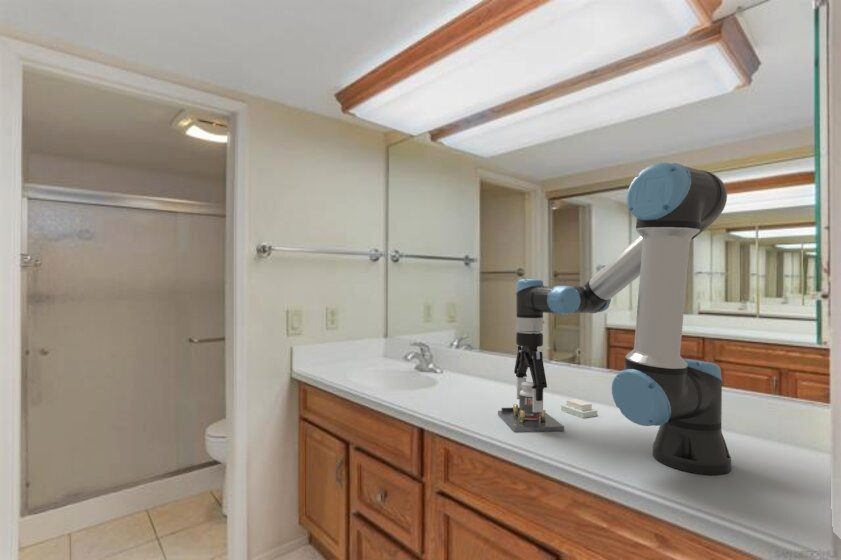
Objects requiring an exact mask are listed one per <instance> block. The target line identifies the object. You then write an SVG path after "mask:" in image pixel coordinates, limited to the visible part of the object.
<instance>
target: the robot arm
mask: <svg viewBox="0 0 841 560" xmlns="http://www.w3.org/2000/svg"><path fill="white" fill-rule="evenodd" d="M727 199H728V193H727V188H726V185H725V183H724V182H723V180H722V179H721V178H720V177H719V176H717V175H716V174H714V173H712V172H710V171H706V170H703V169H697V168H693V167H689V166H684V165H683V164H680V163H675V162H674V163H670V162H658V163H654V164H652V165H649V166H647V167H645V168H644V169H642V170H641V171H640V172H639V173H638V174H637V175H636V176H635V177H634V178H633V179H632V181H631V182H630V185H629V187H628V190H627V194H626V204H627V208H628V210H629V211H630V212H631V214H632V215H633V216H634V217H635V218H636V222H635V232H637V233H638V234H639V236H638V237H636V238H635V239H634V240H632V242H631V243H629V244H628V246H626V247H625V248H624V249H623V250H622V251H621V252H620V253H618V254H617V255H616V256H615V257H614V258H613V259H612V260H611V261H609V263H607V264H606V265H605V266H604V267H603V268H601V270H599V271H598V272H597V273H596V274H594V276H592V277H591V278H590V279H589V280H588V281H587V282H585V283H584V284H583V285H581V286H580V285H578V286H575V285H573V286H571V285H570V286H569V285H548V286H545V285H544V281H543V279H539V278H538V279H537V278H532V279H531V278H527V279H526V278H523V279H518V281H517V283H516V293H515V294H516V318H515V320H516V321H515V327H516V331H517V332H516V334H515V336H516V338H515V339H516V340H515V342H516V345H517V354H516V359H515V365H514V370H513V373H514V374H515V375H516V399H517V400H519V398H520V396H519V395H520V391H521V390H522V387H521V384H522V383H523V382H527V377H528V375H527V371H528V369H529V371H530V376H531V379H532V382H533V384H534V385H533V386H532V389H533V412H543V410H544V389H546V388H548V384H547V377H546V371H545V366H544V361H543V356H544V355H543V352H542V351H538V348H540V347H543V345H544V334H543V333H542V332H543V330H544V324H545V321H544V314H545V313H547V314H557V315H572V314H578V313H579V314H586V313H587V314H596V313H602V312H605V311H606V310H608V308H609V307H610V305H611V302H612V298H614V297H615V296H616V295H617V294H619V293H620V292H621V291H622V290H624V288H626V287H627V286H629V285H630V284H631V283H633V281H636V279H637V278H639V281H638V297H637V309H636V320H635V321H636V322H635V333H634V346H633V349H632V350H631V351H630V352H628V353H627V354H625V361H624V369H623V370H620V372H619V373H617V374H616V375H615V376H614V378H613V380H612V383H611V395H612V400H613V402H614V404H615V406H616V408H618V410H620V412H621V414H622V416H624V417H625V418H626V419H627V420H629V421H631V422H632V423H633V424H636V425H638V426H643V427H652V426H653V427H655V426H656V427H657V426H658V430H657V432H656V433H657V434H656V435H655V436H656V437H655V439H654V441H653V444H652V456H653V457H654V458H655V459H656V460H657V461H658V462H660V463H662V464H664V465H666V466H668V467H671V468H674V469H678V470H681V471H684V472H689V473H694V474H699V475H711V476H712V475H714V476H715V475H724V474H728V473H730V472H731V471H732V456H731V455H730V453H729V449H728V446H727V443H726V440H725V438H724V434H723V432H722V431H723V430H722V421H723V420H722V414H723V413H722V412H723V411H722V410H723V409H722V406H723V405H722V404H723V403H722V402H723V400H722V397H723V396H722V395H723V394H722V391H723V390H722V389H723V387H722V385H723V378H722V370H721V367H720V365H718V364H716V363H714V362H708V361H703V360H697V359H689V358H683V357H682V356H681V349H682V347H681V346H682V337H683V334H682V333H683V325H684V324H683V323H684V322H683V321H684V314H685V313H684V312H685V304H686V303H685V301H686V289H687V282H688V267H689V259H690V258H689V255H690V248H691V247H690V245H691V241H693V239H695V238H696V237H697V236H699V235H700V234H701V233H703V232H705V231H706V229H707V228H709V227H710V226H712V224H713V223H714V222H715V221H717V219H718V218H719V217H720V215H721V214H722V213H723V211H724V209H725V207H726V205H727Z"/></svg>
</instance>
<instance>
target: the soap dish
mask: <svg viewBox="0 0 841 560" xmlns="http://www.w3.org/2000/svg"><path fill="white" fill-rule="evenodd" d="M560 411H561V412H564V413H565V412H566V413H568V414H571V415H573V416H576V417H578V418H581V419H586V418H587V419H588V418H592V417H598V410H597V409H594V408H592V403H590V402H587V401H584V400H582V399H581V400H580V399H577V398H574V399H567V400H566V404H562V405H560Z"/></svg>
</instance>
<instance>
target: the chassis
mask: <svg viewBox="0 0 841 560" xmlns="http://www.w3.org/2000/svg"><path fill="white" fill-rule="evenodd" d="M497 416H499V417H500V419H502V420H503V422H504V423H505V424H506V425H507V426H508V427H509V428H510V429H511V430H512V431H513V432H514V433H524V432H525V433H526V432H528V433H529V432H531V433H533V432H534V433H535V432H564V431H565V425H563V424H562V423H561V422H559V421H557V420H556V419H555V418H554V417H553V416H552V415H550V414H548V413H547V412H546V409H543V412H539V419H537V420H525V411H524V410H520V416H519V404H513V407H501V410H497Z"/></svg>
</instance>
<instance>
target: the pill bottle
mask: <svg viewBox="0 0 841 560" xmlns="http://www.w3.org/2000/svg"><path fill="white" fill-rule="evenodd" d="M533 385H534V384H533V381H526V382H523V383H522V384H521V387H522V390H521V391H520V395H519V396H520V398H519V399H518V400H519V404H518V407H519V416H520V410H524V411H525V420H537V419H539V412H533V389H532V386H533Z"/></svg>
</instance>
